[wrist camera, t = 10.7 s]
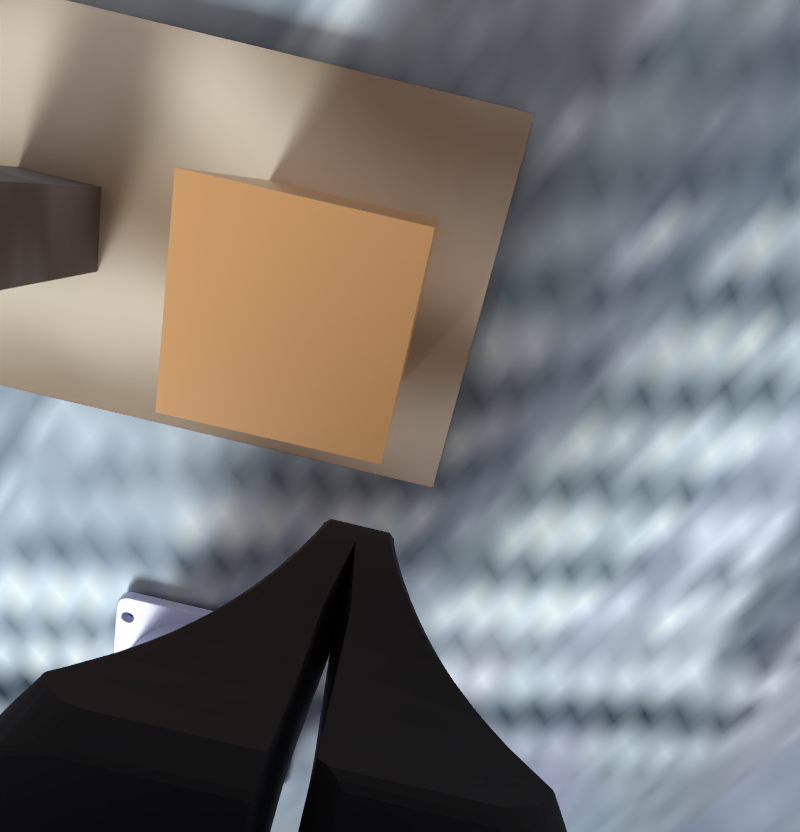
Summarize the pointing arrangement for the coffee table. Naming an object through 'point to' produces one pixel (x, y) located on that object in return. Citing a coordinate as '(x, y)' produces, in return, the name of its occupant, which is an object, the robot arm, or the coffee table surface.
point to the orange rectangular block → (288, 311)
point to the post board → (226, 154)
